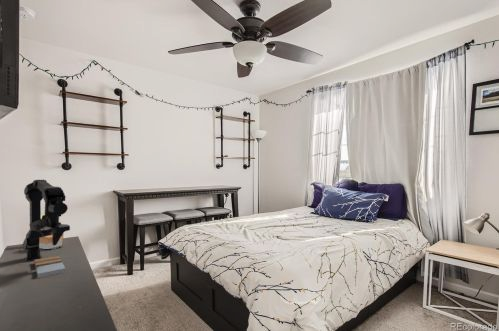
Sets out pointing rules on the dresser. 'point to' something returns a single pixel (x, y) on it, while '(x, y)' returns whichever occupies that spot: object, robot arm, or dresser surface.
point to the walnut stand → (47, 261)
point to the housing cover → (47, 239)
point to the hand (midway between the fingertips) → (50, 244)
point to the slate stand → (50, 270)
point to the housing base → (49, 245)
